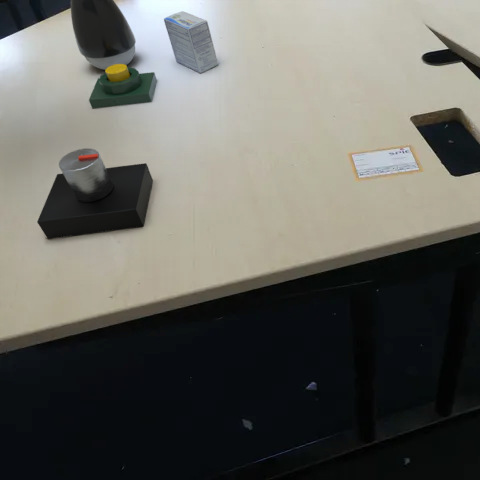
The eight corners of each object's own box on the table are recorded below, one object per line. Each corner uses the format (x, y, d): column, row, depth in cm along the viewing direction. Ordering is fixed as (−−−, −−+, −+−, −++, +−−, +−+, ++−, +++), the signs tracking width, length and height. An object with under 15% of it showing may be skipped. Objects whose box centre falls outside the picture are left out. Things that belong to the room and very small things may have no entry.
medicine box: (219, 65, 101) (208, 19, 95) (200, 74, 99) (187, 28, 93) (194, 54, 105) (182, 9, 99) (175, 62, 103) (162, 17, 97)
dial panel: (47, 239, 68) (36, 221, 66) (66, 190, 75) (57, 173, 73) (143, 226, 69) (135, 209, 67) (153, 180, 76) (146, 163, 74)
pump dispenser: (121, 79, 99) (88, -6, 88) (76, 72, 101) (39, -11, 91) (153, 55, 106) (126, -27, 95) (110, 49, 108) (79, -30, 98)
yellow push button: (107, 84, 91) (103, 74, 90) (110, 74, 94) (107, 65, 92) (128, 81, 91) (125, 72, 90) (131, 72, 94) (128, 62, 93)
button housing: (92, 109, 91) (84, 90, 89) (101, 86, 97) (93, 68, 95) (151, 102, 92) (145, 83, 90) (157, 80, 98) (151, 62, 95)
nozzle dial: (71, 204, 68) (53, 171, 64) (79, 181, 71) (62, 148, 68) (110, 199, 68) (94, 166, 65) (116, 177, 72) (101, 144, 68)
